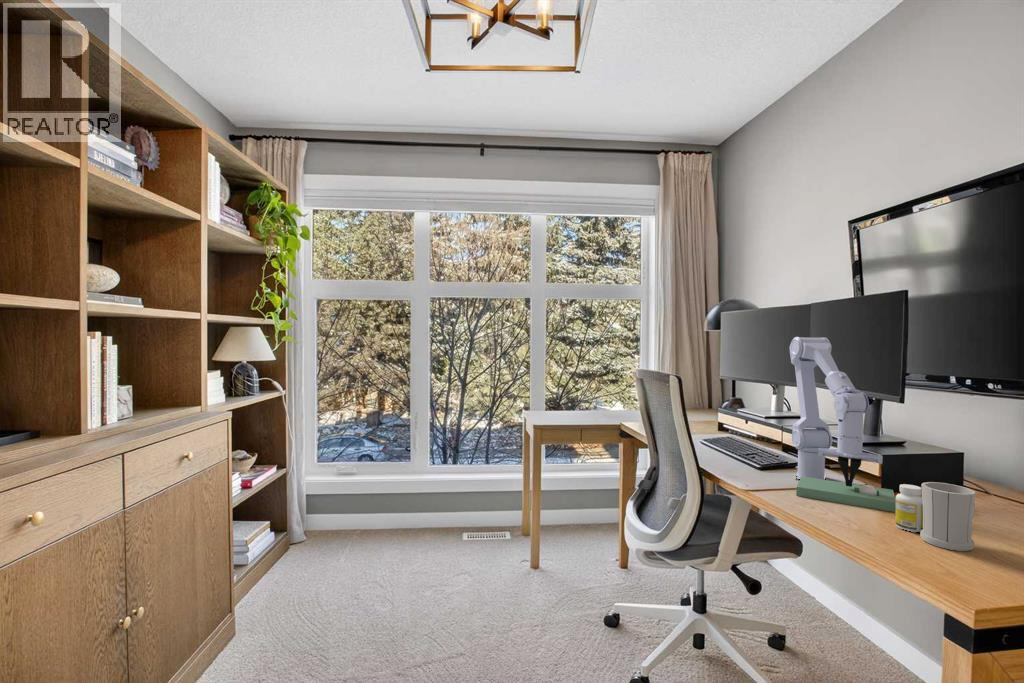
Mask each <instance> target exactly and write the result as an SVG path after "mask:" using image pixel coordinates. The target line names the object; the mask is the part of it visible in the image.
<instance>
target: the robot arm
mask: <svg viewBox="0 0 1024 683" xmlns="http://www.w3.org/2000/svg"><path fill="white" fill-rule="evenodd" d="M832 346H833V345H832V344H831V342H830V340H829V338H827V337H824V336H823V337H803V336H802V337H800V336H795V337H794V338H793V339H792V340H791V342H790V345H789V355H790V356H789V357H790V361H791V362H790V364H792V365H793V366H794V370H795V379H796V380H795V381H796V389H797V396H798V397H797V398H798V404H799V405H798V406H799V416H800V419H798V420H797V421H795V423H793V424H792V428H791V429H792V433H791V442H792V444H793V446H794V447H795V449H796V450H797V472H796V475H798V476H799V477H801V476H803V477H810V478H816V479H823V480H825V479H824V475H826V474H825V467H826V464H825V463H826V457H828V458H837V462H838V465H839V468H840V470H841V472H842V474H843V477H844V481H845V482H844V483H846V486H849V487H852V484H854V479H855V476H856V474H857V472H858V470H859V469H860V467H861V465H862V462H867V463H876V464H880V465H883V455H881V454H874V453H867V452H863V444H864V443H863V441H864V440H863V437H864V434H863V433H864V429H863V428H864V414H866V413H867V412H868V411H869V407H870V402H869V398H868V396H867V394H866V393H865V392H861V391H860V390H859V389H856V387H855V386H854V384H853V383H852V381H851V379H850V378H849V376H848V375H847V373H845V372H843V371H840V369H839V367H838V366H837V364H836V362H835V360H834V358H833V355H832ZM817 366H818V367H819V368H820V370H821V371H822V373H823V374H824V375H825V376H826V377H825V379H824V384H825V385H826V386H827V388H828V390H829V391H830V394H831V395H832V397H833V398H834V400H833V401H832V402H833V404H832V405H833V407H834V410H835V417H836V419H837V449H836V448H832V444H833V440H834V439H833V435H832V434H831V431H830V427H829V424H828V423H827V422H825V421H824V420H823V419H821V418H820V409H819V402H818V393H817V386H816V379H815V367H817ZM796 475H795V476H796Z"/></svg>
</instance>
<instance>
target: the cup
mask: <svg viewBox="0 0 1024 683" xmlns="http://www.w3.org/2000/svg"><path fill="white" fill-rule="evenodd" d="M920 487H921V489H922V493H921V497H922V500H923V529H922V530H921V531H920V535H919V536H920V538H921V540H923V541H924V542H925V541H926V542H925V543H927V544H929V545H931V544H932V546H933V547H937V548H940V547H941V548H940V549H944V548H945V550H948V549H949V551H954V550H956V551H955V552H969V550H970V551H972V550H974V549H975V541H974V540H973V538H972V536H973V519H974V517H975V510H976V509H975V507H976V503H975V502H976V495H977V493H976V491H975V490H974V489H971V488H968V487H964V486H961V485H956V484H951V483H946V482H935V481H927V482H922V483H921V486H920Z"/></svg>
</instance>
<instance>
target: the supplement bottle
mask: <svg viewBox="0 0 1024 683" xmlns="http://www.w3.org/2000/svg"><path fill="white" fill-rule="evenodd" d="M899 492H900V493H898V494H896V495H895V500H896V512H895V526H896V528H898V529H899V530H902V529H904V530H903V531H905V530H907V531H906V532H909V531H911V532H910V533H916V532H920V531H921V530H922V529H923V500H922V487H921V486H918V485H914V484H906V483H903V484H902V483H901V484H899Z"/></svg>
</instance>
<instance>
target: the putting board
mask: <svg viewBox="0 0 1024 683" xmlns="http://www.w3.org/2000/svg"><path fill="white" fill-rule="evenodd" d="M861 486H863V485H862V484H855V483H852V487H849V486H846V482H842V481H835V480H829V479H826V480H823V479H816V478H810V477H803V476H801V477H800V480H799V479H798V482H797V485H796V489H795V490H796V493H795V494H796V496H797V497H802V498H807V499H808V498H809V499H814V500H820V501H825V502H826V501H827V502H832V503H839V504H843V505H844V504H845V505H852V506H855V507H861V508H869V509H874V510H879V509H880V511H888V512H891V511H893V512H892V513H896V495H895V493H894V489H889V488H882V487H875V486H873V487H874V488H875V489H876V491H877V496H875V495H869V494H862V493H859V489H860V487H861Z"/></svg>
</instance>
